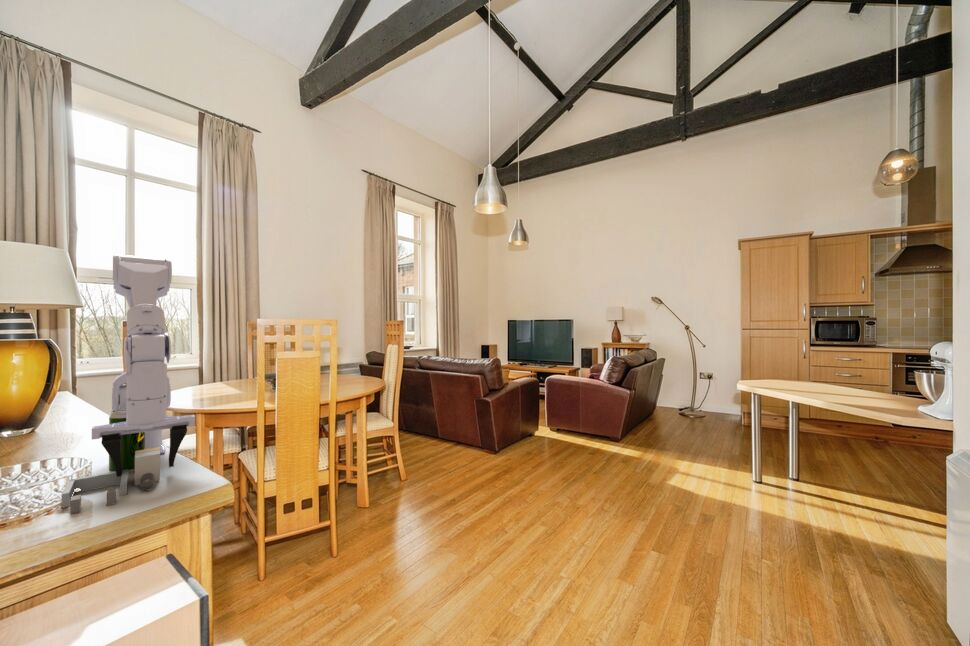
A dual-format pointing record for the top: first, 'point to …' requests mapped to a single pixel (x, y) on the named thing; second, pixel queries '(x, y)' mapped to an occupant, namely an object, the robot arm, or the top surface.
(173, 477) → the top surface
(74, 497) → the grey holder frame
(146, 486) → the connector
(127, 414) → the robot arm
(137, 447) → the beer can
